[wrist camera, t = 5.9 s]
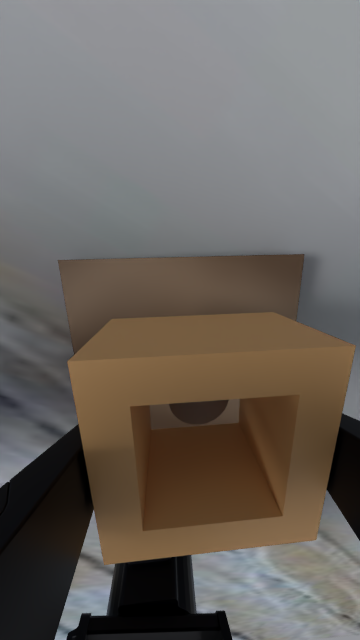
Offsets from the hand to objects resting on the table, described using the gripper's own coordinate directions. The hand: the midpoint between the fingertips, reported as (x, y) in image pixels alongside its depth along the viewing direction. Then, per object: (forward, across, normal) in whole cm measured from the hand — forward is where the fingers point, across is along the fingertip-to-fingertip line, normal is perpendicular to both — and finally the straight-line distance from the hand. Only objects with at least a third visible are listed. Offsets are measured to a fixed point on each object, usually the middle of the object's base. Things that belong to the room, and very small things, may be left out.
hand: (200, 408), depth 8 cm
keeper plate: (+6, 0, 0) cm, 7 cm away
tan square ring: (+2, 0, 0) cm, 2 cm away
